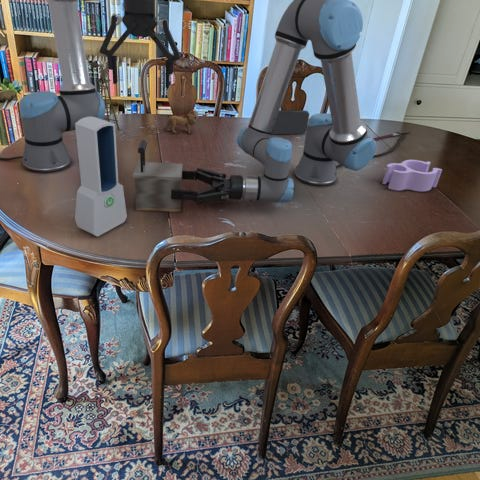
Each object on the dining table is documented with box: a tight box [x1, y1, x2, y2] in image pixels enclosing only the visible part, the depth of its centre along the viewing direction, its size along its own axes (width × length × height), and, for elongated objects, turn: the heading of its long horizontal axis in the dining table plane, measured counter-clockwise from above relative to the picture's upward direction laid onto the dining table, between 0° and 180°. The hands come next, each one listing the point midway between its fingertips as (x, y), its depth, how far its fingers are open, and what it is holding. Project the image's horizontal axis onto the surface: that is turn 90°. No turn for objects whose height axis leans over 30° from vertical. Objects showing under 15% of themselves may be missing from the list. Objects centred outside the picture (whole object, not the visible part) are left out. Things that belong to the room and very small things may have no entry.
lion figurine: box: [163, 109, 199, 134], centre depth 194 cm, size 15×5×9 cm, turn 110°
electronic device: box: [74, 116, 128, 238], centre depth 122 cm, size 12×8×30 cm, turn 148°
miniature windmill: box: [90, 54, 120, 130], centre depth 181 cm, size 9×8×30 cm
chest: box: [134, 167, 184, 213], centre depth 141 cm, size 13×10×10 cm
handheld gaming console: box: [271, 109, 310, 135], centre depth 204 cm, size 23×3×10 cm, turn 108°
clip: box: [381, 159, 443, 192], centre depth 171 cm, size 20×12×7 cm, turn 109°
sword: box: [372, 131, 411, 141], centre depth 215 cm, size 31×3×1 cm, turn 126°
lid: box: [131, 139, 184, 180], centre depth 136 cm, size 14×10×9 cm
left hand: (141, 84), depth 124 cm, fingers open, 13 cm apart
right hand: (172, 184), depth 141 cm, fingers open, 13 cm apart
